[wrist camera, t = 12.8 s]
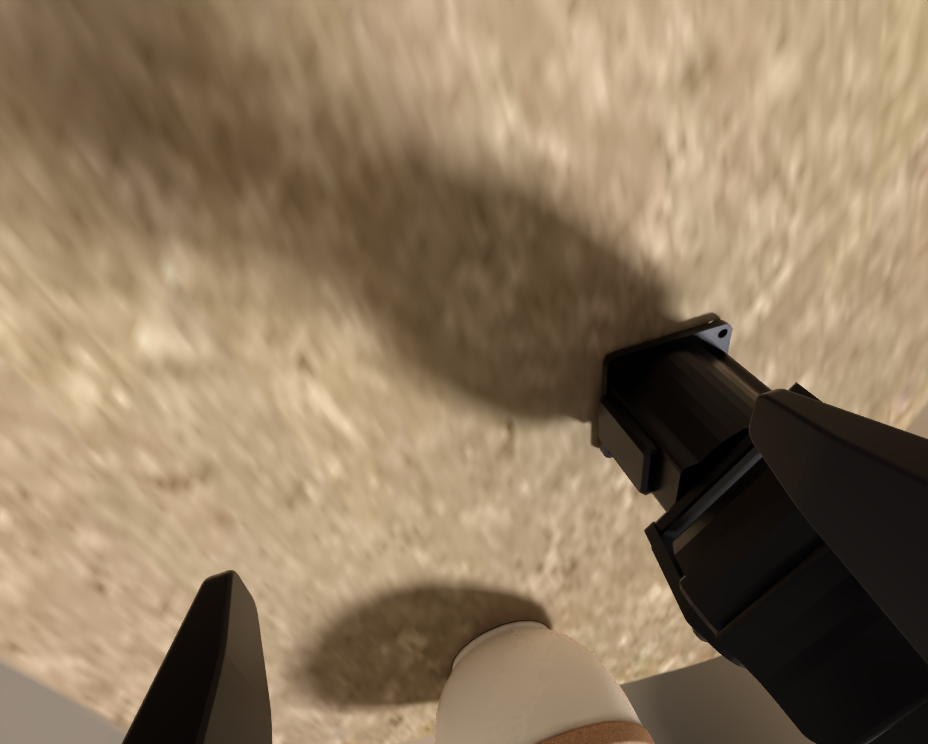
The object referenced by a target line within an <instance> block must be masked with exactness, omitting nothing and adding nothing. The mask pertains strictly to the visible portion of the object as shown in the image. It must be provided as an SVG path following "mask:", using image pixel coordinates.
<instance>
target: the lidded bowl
mask: <svg viewBox="0 0 928 744" xmlns="http://www.w3.org/2000/svg"><path fill="white" fill-rule="evenodd" d="M434 731H435V744H654V742H653V740H652V738H651V736H650V735H649V733H648V731H647V730H646V729H645V728H644V727H643V726H642V725H641V723H640V721H639V719H638V717H637V715H636V713H635V711H634V710H633V707H632V706H631V704H630V702H629V701H628V699H627V697H626V695H625V693H624V692H623V691H622V689H621V687H620V686H619V685H618V683H617V682H616V680H615V679H614V677H613V676H612V675H611V673H610V672H609V671H608V670H607V668H606V667H605V666H604V665H603V664H602V662H601V661H600V660H599V659H598V657H596V656H595V655H594V654H593V653H592V652H591V651H590V650H589V649H588V648H587V647H585V646H583V645H582V644H580V643H579V642H577V641H576V640H574V639H573V638H571V637H569V636H567V635H564V634H562V633H559V632H556V631H553V630H549V629H548V627H547V626H545V625H544V624H542V623H539V622H535V621H519V622H513V623H509V624H505V625H502V626H499V627H496V628H494V629H492V630H489V631H487V632H485V633H484V634H482V635H480V636H478V637H477V638H475V639H474V640H473V641H471V642H470V643H469V644H467V645H466V646H465V647H464V648H463V649H462V650H461V651H460V652H459V654H458V655H457V656H456V658H455V660H454V662H453V665H452V673H451V675H450V677H449V678H448V680H447V682H446V684H445V686H444V689H443V691H442V694H441V697H440V700H439V704H438V708H437V712H436V720H435V730H434Z"/></svg>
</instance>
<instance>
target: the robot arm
mask: <svg viewBox="0 0 928 744" xmlns="http://www.w3.org/2000/svg"><path fill="white" fill-rule="evenodd" d="M731 333H732V327H731V325H729V324H728V323H727V322H725V321H723V320H719V321H715V322H712V323H709V324H705V325H702V326H699V327H695V328H692V329H689V330H686V331H682V332H679V333H676V334H672V335H669V336H666V337H662V338H659V339H656V340H652V341H649V342H646V343H642V344H639V345H636V346H632V347H629V348H626V349H622V350H619V351H616V352H613V353H611V354H609V355H608V356H607V357H606V358H605V360H604V362H603V381H602V396H601V399H600V401H599V424H598V437H599V439H600V450H601V452H602V453H603V455H604V456H605V457H607V458H611V457H613V458H614V459H615V460H616V462H617V463H618V464H619V466H620V467H621V468H622V470H623V471H624V472H625V474H626V475H627V476H628V478H629V479H630V480H631V482H632V483H633V484H634V486H635V487H636V488H637V490H638V491H639V492H640V493H642V494H644V495H647V494H650V493H652V494H653V495H654V497H655V498H656V499H657V500H658V502H659V503H660V504H661V506H662V507H663V508H664V510H665V511H666V513H665V514H663V515H662V516H661V517H660V518H659V519H658V520H657V521H656V522H652V523H651V524H650V525H649V526H648V527H647V528H646V529H645V530H644V531H645V533H646V535H647V538H648V540H649V542H650V544H651V546H652V547H651V548H652V551H653V553H654V555H655V557H656V559H657V561H658V563H659V565H660V567H661V569H662V571H663V574H664V576H665V578H666V580H667V582H668V584H669V586H670V588H671V590H672V592H673V594H674V597H675V599H676V601H677V603H678V605H679V607H680V609H681V611H682V613H683V615H684V617H685V619H686V621H687V622H688V623H689V625H690V626H691V627H692V629H693V632H694V633H695V635H696V636H697V637H698V638H699V639H700V640H702V641H704V642H708V643H709V644H710V645H711V646H712V647H713V648H715V649H716V650H717V651H718V652H719V653H720V654H721V655H723V656H724V657H725V658H727V659H728V660H729V661H731V662H733V663H734V664H736V665H738V666H740V667H743V668H747V669H748V671H749V672H750V673H751V674H752V675H753V676H754V677H755V678H756V679H757V680H758V681H759V682H760V683H761V684H762V685H763V687H764V688H765V689H766V690H767V691H768V692H769V694H770V695H771V696H772V697H773V698H774V699H775V701H776V702H777V703H778V704H779V706H780V707H781V708H782V709H783V710H784V712H785V713H786V714H787V715H788V717H789V718H790V719H791V720H792V722H793V723H794V724H795V725H796V726H797V728H798V729H799V730H800V731H801V733H802V734H803V735H804V736H805V737H807V738H808V739H809V740H811V741H813V742H815V743H816V744H928V439H926V438H923V437H920V436H917V435H915V434H912V433H909V432H906V431H903V430H900V429H897V428H895V427H892V426H889V425H886V424H883V423H880V422H877V421H875V420H872V419H869V418H866V417H863V416H860V415H857V414H854V413H852V412H849V411H846V410H843V409H840V408H837V407H834V406H832V405H829V404H826V403H823V402H822V401H820V400H819V399H818V398H816V397H815V396H814V395H812V394H811V393H810V392H808V391H807V390H806V389H804V388H803V387H802V386H800V385H799V384H798V383H795V384H794V385H793V386H792V387H791V388H790V389H789V390H785V389H775V390H771V389H769V388H768V387H767V386H766V385H764V384H763V383H762V382H761V381H760V380H758V379H757V378H756V377H755V376H753V375H752V374H751V373H750V372H749V371H747V370H746V369H745V368H744V367H742V366H741V365H740V364H739V363H738V362H736V361H735V360H734V359H733V358H731V357H730V356H729V355H728V354H727V353H728V348H729V343H730V338H731ZM615 362H617V363H616V364H614V363H615ZM613 364H614V365H613ZM122 744H272V723H271V708H270V700H269V692H268V685H267V678H266V670H265V663H264V656H263V649H262V642H261V634H260V627H259V620H258V613H257V608H256V605H255V602H254V599H253V597H252V596H251V594H250V593H249V591H248V589H247V588H246V586H245V585H244V583H243V582H242V580H241V578H240V577H239V575H238V574H237V573H236V572H235V571H233V570H228V571H225V572H222V573H219V574H216V575H213V576H210V577H208V578H207V579H206V580H205V581H204V582H203V583H202V585H201V587H200V589H199V591H198V593H197V595H196V597H195V599H194V601H193V603H192V605H191V607H190V609H189V611H188V613H187V615H186V617H185V619H184V621H183V623H182V625H181V627H180V629H179V631H178V633H177V635H176V637H175V639H174V641H173V643H172V645H171V647H170V649H169V651H168V653H167V655H166V657H165V659H164V660H163V662H162V664H161V666H160V668H159V670H158V672H157V674H156V676H155V678H154V680H153V682H152V684H151V686H150V688H149V690H148V692H147V694H146V696H145V698H144V700H143V702H142V704H141V706H140V708H139V710H138V712H137V714H136V716H135V718H134V720H133V722H132V724H131V726H130V728H129V730H128V732H127V734H126V736H125V738H124V740H123V742H122Z"/></svg>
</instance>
